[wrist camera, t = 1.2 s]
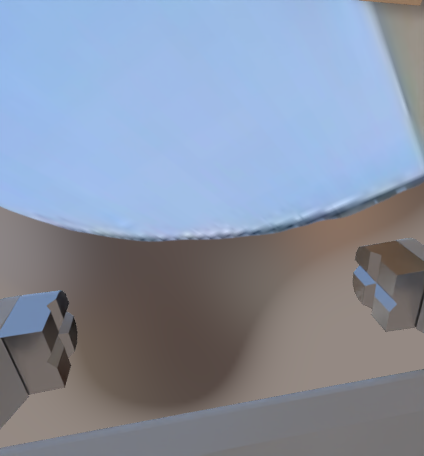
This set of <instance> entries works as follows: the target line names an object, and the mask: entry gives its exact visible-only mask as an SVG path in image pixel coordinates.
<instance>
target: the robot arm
mask: <svg viewBox="0 0 424 456" xmlns="http://www.w3.org/2000/svg"><path fill="white" fill-rule="evenodd" d="M355 260H356V261H357V263H358V264H359V267H358V268H357V269H356V270H355V272H354V273H353V287H354V292H355V294H356V296H357V298H358V299H359V301H360V302H361V303H362V304H363V305H365V306H368V307H370V308H372V316H373V317H374V319H375V320H376V321H377V322H378V323H379V324H380V325H381V327H382V328H383V329H384V330H385V332H388V331H394V330H401V329H408V328H415V327H416V329H417V330H419V331H421V332H423V333H424V245H422V244H421V243H420V242H418V241H417V240H415V239H412V238H406V239H401V240H396V241H391V242H385V243H379V244H373V245H368V246H361V247H359V248H358V250H357V252H356V257H355ZM68 305H69V301H68V298H67V296H66V293H64V292H63V291H61V290H60V291H53V292H45V293H37V294H29V295H23V296H14V297H8V298H3V299H0V429H1V428H2V427H3V425H4V424H5V423H6V422H7V421H8V420H9V419H10V418H11V416H12V415H13V414H14V413H15V412H16V411H17V410H18V408H19V407H20V406H21V405H22V404H23V403H24V402H25V400H26V399H27V398H28V397H29V396H28V395H30V394H35V393H40V392H45V391H50V390H55V389H59V388H65V385H66V382H67V378H68V374H69V371H70V368H71V364H70V361H69V359H68V358H69V357H70V356H71V355H72V354H73V353H74V352H75V349H76V345H77V326H76V322H75V319H74V316H72V315H71V314H70V313H68V312H67V308H68ZM0 456H424V369H422V370H416V371H411V372H405V373H400V374H395V375H389V376H384V377H378V378H373V379H367V380H362V381H357V382H351V383H345V384H340V385H335V386H329V387H325V388H318V389H313V390H308V391H302V392H297V393H292V394H287V395H281V396H276V397H271V398H265V399H260V400H255V401H249V402H244V403H238V404H233V405H228V406H222V407H217V408H212V409H206V410H201V411H196V412H190V413H185V414H180V415H174V416H169V417H163V418H158V419H153V420H148V421H142V422H137V423H132V424H126V425H121V426H116V427H110V428H105V429H99V430H94V431H89V432H84V433H78V434H73V435H67V436H62V437H57V438H51V439H46V440H40V441H35V442H30V443H24V444H19V445H13V446H9V447H3V448H0Z"/></svg>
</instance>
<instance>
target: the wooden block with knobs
mask: <svg viewBox="0 0 424 456" xmlns="http://www.w3.org/2000/svg"><path fill="white" fill-rule="evenodd" d="M361 1H373V2H384V3H396V4H408V5H419V6H420V4H421V2H422V0H361Z"/></svg>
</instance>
